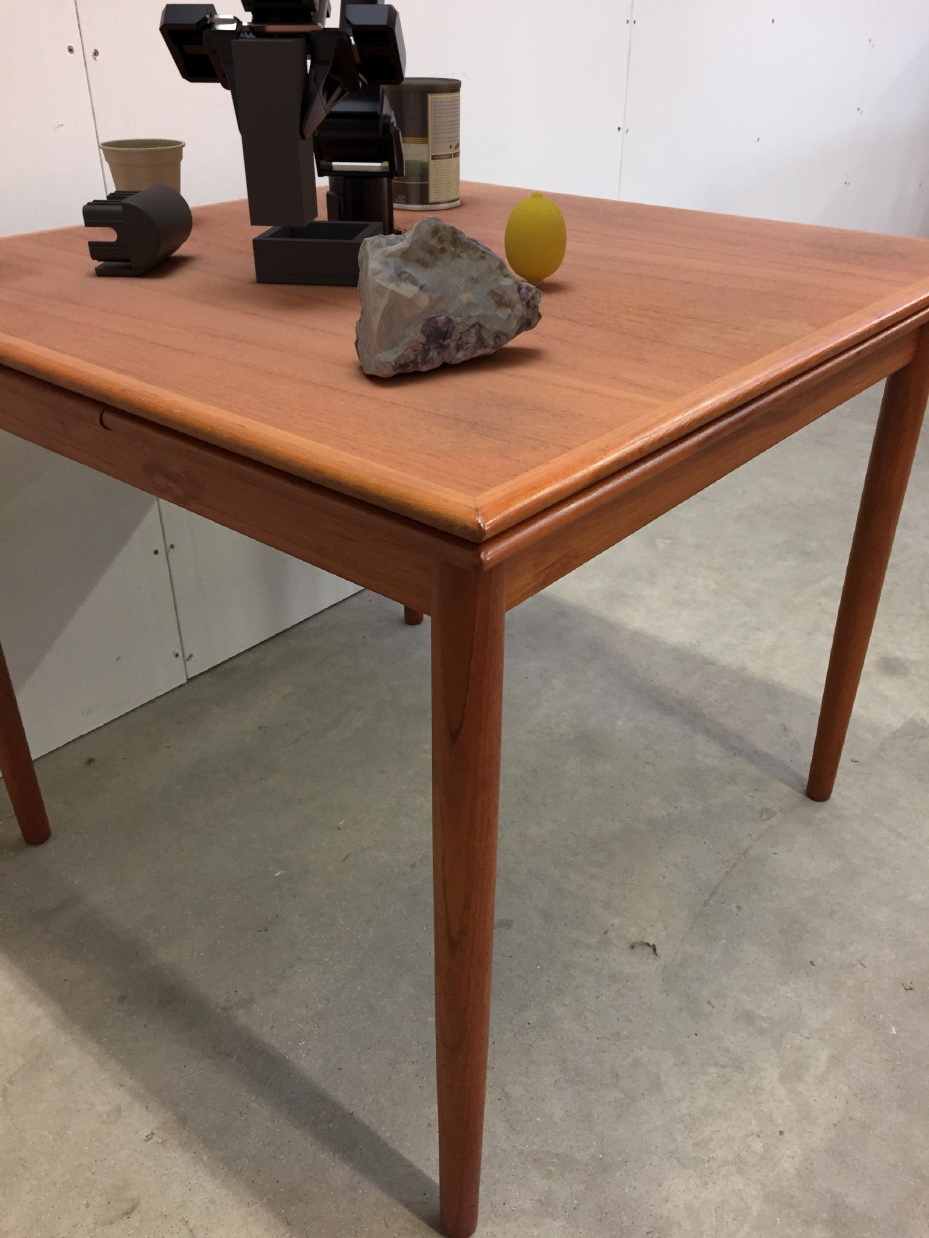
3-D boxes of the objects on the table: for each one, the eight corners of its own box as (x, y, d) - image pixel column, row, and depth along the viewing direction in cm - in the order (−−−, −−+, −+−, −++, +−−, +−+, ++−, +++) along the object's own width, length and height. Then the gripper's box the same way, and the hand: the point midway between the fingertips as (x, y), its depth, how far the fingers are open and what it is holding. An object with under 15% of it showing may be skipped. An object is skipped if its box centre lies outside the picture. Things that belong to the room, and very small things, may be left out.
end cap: (165, 278, 94) (154, 201, 90) (91, 277, 94) (77, 200, 91) (198, 255, 102) (188, 184, 99) (130, 254, 103) (118, 183, 99)
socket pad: (287, 259, 101) (283, 219, 99) (384, 262, 100) (382, 222, 98) (256, 282, 93) (251, 239, 91) (362, 286, 92) (360, 242, 90)
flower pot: (212, 222, 118) (203, 141, 113) (151, 236, 111) (138, 150, 107) (156, 214, 122) (144, 136, 118) (94, 227, 115) (79, 144, 111)
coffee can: (388, 212, 124) (384, 83, 116) (375, 199, 132) (369, 77, 125) (470, 209, 126) (470, 82, 118) (451, 196, 134) (450, 76, 127)
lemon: (570, 282, 93) (575, 189, 89) (555, 296, 89) (559, 199, 84) (513, 277, 95) (515, 186, 90) (495, 291, 90) (497, 195, 86)
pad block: (266, 215, 85) (249, 38, 78) (318, 216, 84) (305, 38, 78) (250, 226, 81) (230, 40, 74) (304, 227, 81) (290, 41, 74)
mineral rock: (542, 346, 76) (548, 204, 71) (535, 392, 67) (541, 233, 61) (373, 340, 77) (367, 200, 72) (344, 385, 68) (334, 228, 63)
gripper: (147, -124, 75) (113, 55, 71) (394, -126, 73) (372, 57, 69) (198, -1, 85) (171, 160, 82) (414, 0, 84) (396, 164, 80)
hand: (272, 135), depth 78 cm, fingers closed on pad block, 4 cm apart
